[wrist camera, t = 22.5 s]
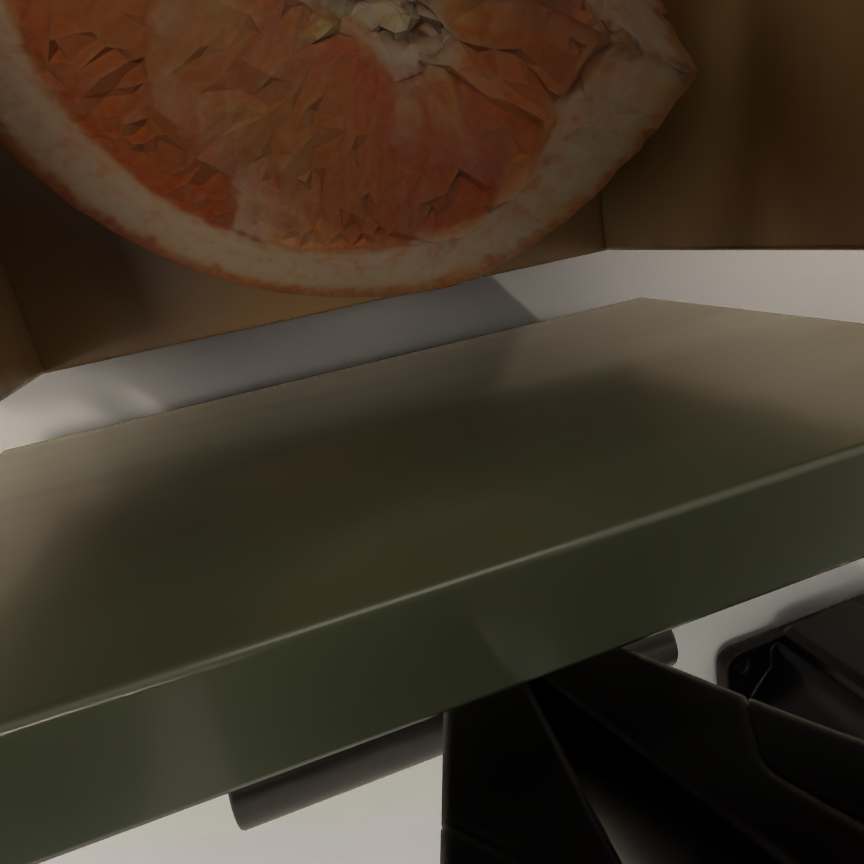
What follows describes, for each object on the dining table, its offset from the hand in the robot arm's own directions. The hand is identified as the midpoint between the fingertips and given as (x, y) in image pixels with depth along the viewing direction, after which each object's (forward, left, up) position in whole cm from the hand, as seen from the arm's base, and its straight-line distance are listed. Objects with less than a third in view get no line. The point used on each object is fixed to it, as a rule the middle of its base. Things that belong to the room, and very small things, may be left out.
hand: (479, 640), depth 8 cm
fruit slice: (+8, 0, -5) cm, 9 cm away
